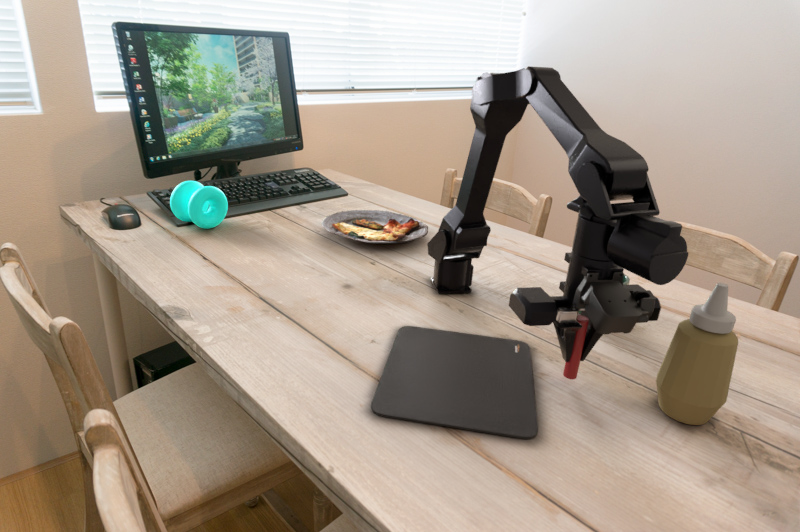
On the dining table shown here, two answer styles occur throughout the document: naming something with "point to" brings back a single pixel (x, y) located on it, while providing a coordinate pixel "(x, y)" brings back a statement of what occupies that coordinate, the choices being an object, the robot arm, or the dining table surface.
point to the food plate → (375, 226)
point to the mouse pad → (459, 382)
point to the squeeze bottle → (699, 362)
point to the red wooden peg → (576, 349)
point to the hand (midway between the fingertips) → (572, 360)
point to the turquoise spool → (199, 204)
